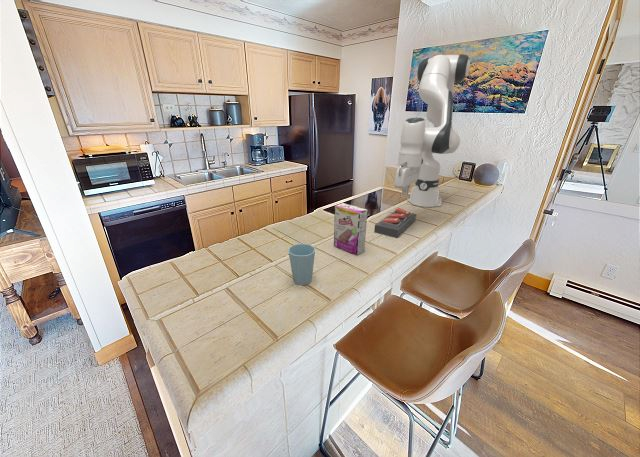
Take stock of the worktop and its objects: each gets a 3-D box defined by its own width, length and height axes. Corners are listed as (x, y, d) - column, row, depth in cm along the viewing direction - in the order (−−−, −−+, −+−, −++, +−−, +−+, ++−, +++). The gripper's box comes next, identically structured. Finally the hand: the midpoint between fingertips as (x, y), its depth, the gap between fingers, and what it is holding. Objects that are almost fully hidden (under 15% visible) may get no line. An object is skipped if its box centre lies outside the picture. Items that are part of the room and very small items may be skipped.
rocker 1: (385, 220, 116) (385, 218, 115) (399, 220, 112) (399, 218, 112) (383, 222, 113) (382, 220, 113) (396, 222, 110) (396, 220, 109)
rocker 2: (392, 216, 121) (391, 213, 121) (405, 216, 117) (404, 213, 117) (389, 217, 119) (389, 215, 118) (402, 218, 115) (402, 215, 115)
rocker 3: (397, 209, 126) (398, 207, 125) (409, 214, 123) (410, 212, 123) (395, 211, 124) (395, 209, 123) (407, 216, 121) (408, 214, 120)
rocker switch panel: (397, 214, 134) (398, 206, 133) (417, 218, 129) (419, 210, 127) (374, 232, 113) (375, 222, 112) (396, 238, 108) (398, 228, 106)
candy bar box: (332, 246, 101) (333, 205, 94) (341, 242, 104) (342, 202, 98) (357, 256, 94) (359, 212, 87) (365, 251, 97) (368, 209, 91)
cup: (316, 287, 77) (315, 255, 73) (289, 288, 76) (287, 256, 72) (314, 273, 84) (314, 243, 80) (290, 274, 83) (288, 243, 79)
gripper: (408, 165, 98) (404, 201, 103) (424, 159, 113) (419, 191, 118) (392, 163, 101) (388, 198, 106) (409, 158, 117) (405, 189, 122)
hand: (405, 194), depth 113 cm, fingers closed
